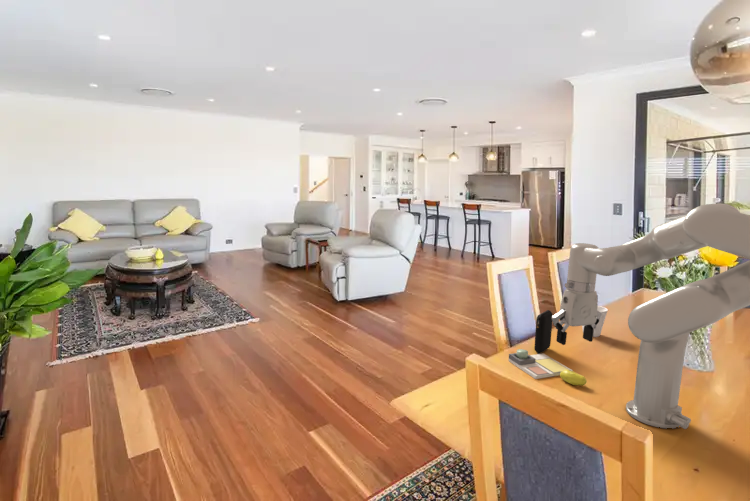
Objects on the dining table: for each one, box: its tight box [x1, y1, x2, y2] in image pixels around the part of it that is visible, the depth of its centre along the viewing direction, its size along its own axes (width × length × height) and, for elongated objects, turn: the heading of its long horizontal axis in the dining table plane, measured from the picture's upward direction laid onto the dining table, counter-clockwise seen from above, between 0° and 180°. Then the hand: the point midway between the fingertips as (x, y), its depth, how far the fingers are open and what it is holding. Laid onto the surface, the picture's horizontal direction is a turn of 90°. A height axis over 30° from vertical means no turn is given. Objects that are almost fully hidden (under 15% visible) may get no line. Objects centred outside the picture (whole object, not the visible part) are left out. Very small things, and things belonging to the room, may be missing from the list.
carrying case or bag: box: [533, 309, 553, 354], centre depth 152 cm, size 11×3×15 cm, turn 137°
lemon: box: [559, 370, 588, 386], centre depth 129 cm, size 4×8×4 cm, turn 33°
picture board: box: [508, 352, 574, 380], centre depth 141 cm, size 14×14×2 cm
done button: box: [516, 348, 529, 359], centre depth 143 cm, size 4×4×2 cm
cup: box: [581, 305, 609, 338], centre depth 170 cm, size 10×10×11 cm
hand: (574, 341), depth 128 cm, fingers open, 9 cm apart
